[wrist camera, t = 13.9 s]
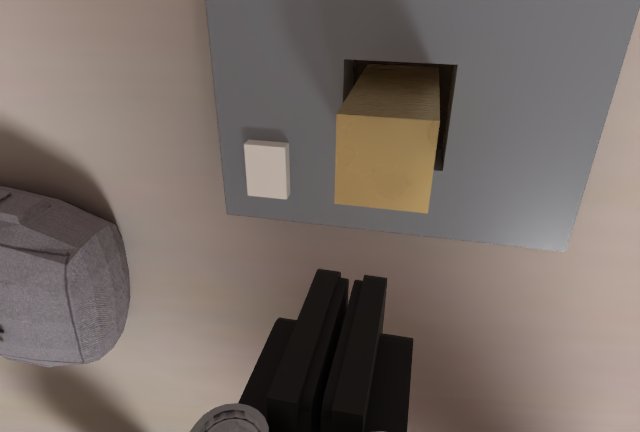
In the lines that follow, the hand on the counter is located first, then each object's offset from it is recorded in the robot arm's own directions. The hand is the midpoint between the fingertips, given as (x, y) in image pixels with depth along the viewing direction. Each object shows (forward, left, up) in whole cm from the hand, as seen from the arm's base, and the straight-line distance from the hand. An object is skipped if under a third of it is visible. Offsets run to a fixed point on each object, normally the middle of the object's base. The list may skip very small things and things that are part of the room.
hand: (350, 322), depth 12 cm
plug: (0, 0, -19) cm, 19 cm away
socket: (0, 0, -19) cm, 19 cm away
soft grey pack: (+30, +14, -20) cm, 39 cm away
